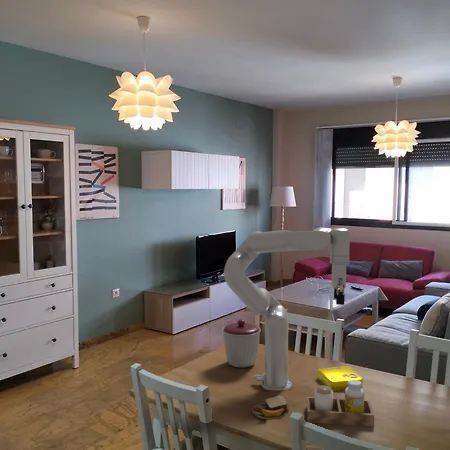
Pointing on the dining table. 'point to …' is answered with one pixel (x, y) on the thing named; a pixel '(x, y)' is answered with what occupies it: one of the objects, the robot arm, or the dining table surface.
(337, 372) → the element tile
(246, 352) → the canister
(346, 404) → the supplement bottle
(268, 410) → the toy sandwich meal
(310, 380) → the dining table surface
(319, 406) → the jar
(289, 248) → the robot arm
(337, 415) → the crate
